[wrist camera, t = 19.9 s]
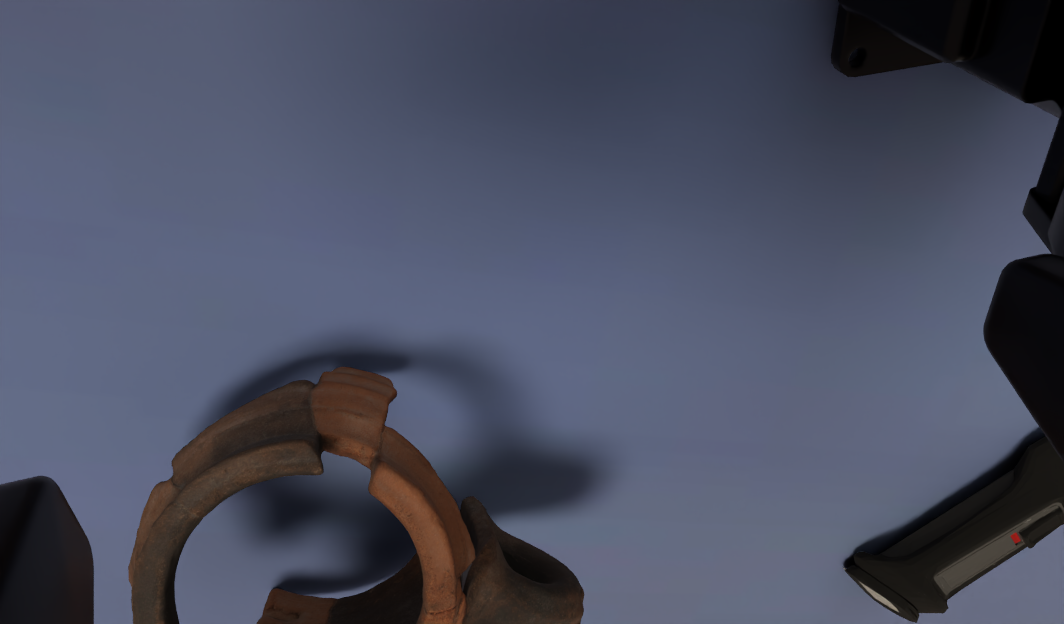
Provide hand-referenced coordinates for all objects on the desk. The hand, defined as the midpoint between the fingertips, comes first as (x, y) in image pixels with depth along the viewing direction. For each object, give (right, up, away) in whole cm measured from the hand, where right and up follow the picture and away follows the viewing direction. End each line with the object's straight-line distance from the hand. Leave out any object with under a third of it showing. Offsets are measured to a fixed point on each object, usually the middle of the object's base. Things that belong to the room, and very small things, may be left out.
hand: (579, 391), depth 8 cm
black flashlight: (+19, -6, +28) cm, 34 cm away
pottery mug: (-6, -4, +18) cm, 20 cm away
